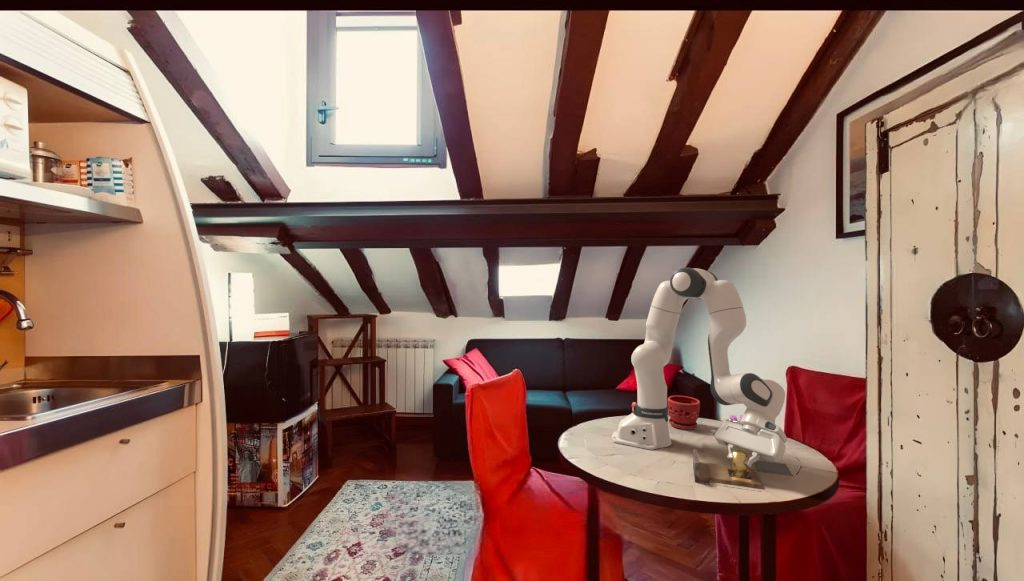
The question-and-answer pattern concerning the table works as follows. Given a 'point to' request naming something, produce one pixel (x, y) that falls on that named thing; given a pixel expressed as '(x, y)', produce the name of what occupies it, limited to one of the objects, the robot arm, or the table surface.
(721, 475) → the socket block
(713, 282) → the robot arm
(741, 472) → the brass peg
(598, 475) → the table surface
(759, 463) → the pad
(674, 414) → the plant pot
